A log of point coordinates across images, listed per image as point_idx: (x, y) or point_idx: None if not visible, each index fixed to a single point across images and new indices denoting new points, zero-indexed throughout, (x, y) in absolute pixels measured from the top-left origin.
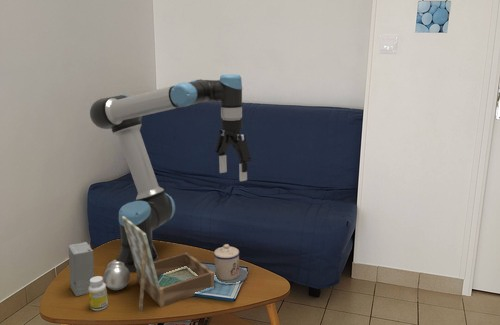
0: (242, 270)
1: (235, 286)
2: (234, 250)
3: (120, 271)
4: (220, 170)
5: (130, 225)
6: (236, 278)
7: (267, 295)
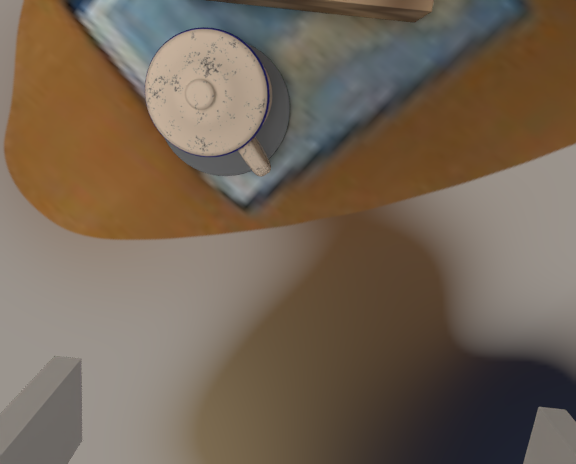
0: (216, 165)
1: None
2: (174, 121)
3: None
4: (558, 431)
5: None
6: None
7: (27, 121)
